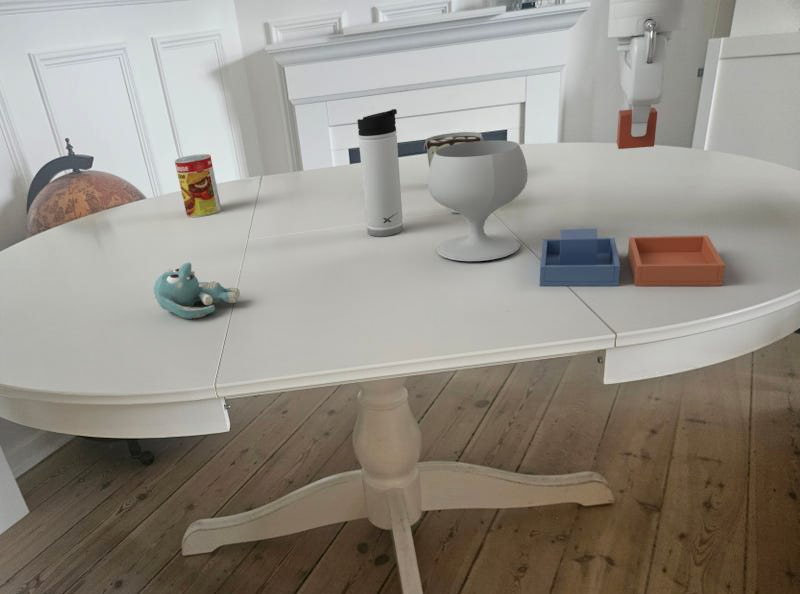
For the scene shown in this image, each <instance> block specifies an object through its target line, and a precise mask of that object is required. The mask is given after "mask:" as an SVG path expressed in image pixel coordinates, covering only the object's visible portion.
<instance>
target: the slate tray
mask: <svg viewBox="0 0 800 594" xmlns="http://www.w3.org/2000/svg"><path fill="white" fill-rule="evenodd" d="M559 258H560V238H543V239H542V246H541V256H540V266H539V268H540V269H539V287H619V285H620V276H621V275H620V274H621V264H620V259H619V252H618V247H617V243H616V238H615V237H598V247H597V260H596V265H559Z"/></svg>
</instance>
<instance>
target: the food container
mask: <svg viewBox="0 0 800 594" xmlns="http://www.w3.org/2000/svg"><path fill="white" fill-rule="evenodd" d="M475 141H485V140H484V137H483V135H482V133H481V132H476V131H458V132H449V133H441V134H436V135H433V136H431V137H427V138H426V139H425V142H424V145H423V151H426V153H427V161H428V166H429V169H430V165H431V161H432V158H433V156H434V154H435V152H436V151H437V150H439V149H441V148H444V147H447V146H451V145H455V144H460V143H467V142H475Z"/></svg>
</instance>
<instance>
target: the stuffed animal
mask: <svg viewBox="0 0 800 594" xmlns="http://www.w3.org/2000/svg"><path fill="white" fill-rule="evenodd" d="M195 273H196V272H195V271H193V270H192V263H191V262H190V261H189V262H185V263H183V264H182V265H181V266H180V267H178V268H176V269H170V268H168V269H166V270H165V271H164V272H163V273H162V274H161V275H160V276H159V277H158V278H157V279H156V280H155V282H154V285H153V294H154V297H155V299H156V302H157V304H158V305H159V306H160V307H161V308H162V309H163V310H166V311H168V312H171V313H172V314H175V315H177V316H178V317H181V318H182V319H189V320H193V319H198V318H203V317H205V316H207V315H209V314H211V313H214V312H215V311H216V307H215V305H214V304H217V303H220V302H222V301H223V302H226V303H231V304H235V303H236V302H237V301H238V298H239V297H240V293H241V292H240V289H239V288H236V287H227V288H225V287H224V286H222V285H221V283H220V282H219V281H205V282H204V281H199V279H198V278H197V277H196V275H195ZM196 301H198V302H200V303H202V304H204V305H205V306H194V305H195V303H196ZM192 318H193V319H192Z"/></svg>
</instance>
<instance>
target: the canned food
mask: <svg viewBox="0 0 800 594" xmlns="http://www.w3.org/2000/svg"><path fill="white" fill-rule="evenodd" d="M174 165H175V169H176V174H177V178H178V182H179V187H180V191H181V195H182V200H183V204H184V208H185V209H184V210H185V213H186V216H187V217H189V218H201V217H206V216H212V215H215V214H218V213H219V212H221V211H222V205H221V202H220V196H219V191H218V190H219V189H218V186H217V180H216V176H215V171H214V166H213V161H212V156H211V154H209V153H201V154H199V153H198V154H192V155H186V156H182V157H179V158H176V159H175V160H174Z"/></svg>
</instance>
